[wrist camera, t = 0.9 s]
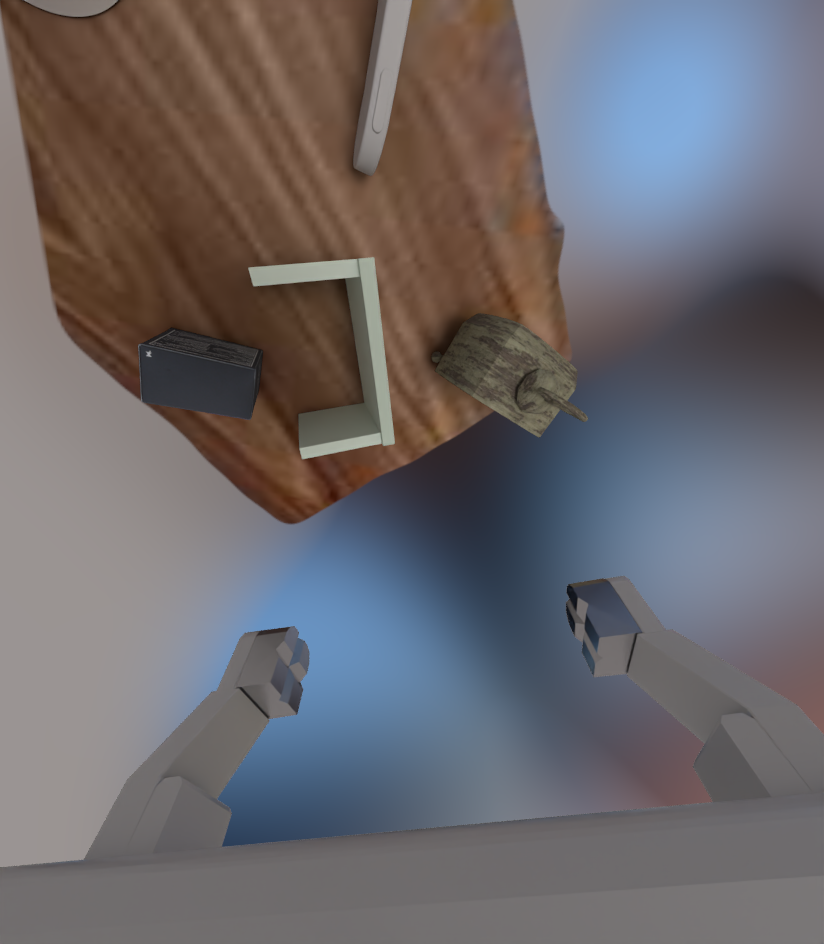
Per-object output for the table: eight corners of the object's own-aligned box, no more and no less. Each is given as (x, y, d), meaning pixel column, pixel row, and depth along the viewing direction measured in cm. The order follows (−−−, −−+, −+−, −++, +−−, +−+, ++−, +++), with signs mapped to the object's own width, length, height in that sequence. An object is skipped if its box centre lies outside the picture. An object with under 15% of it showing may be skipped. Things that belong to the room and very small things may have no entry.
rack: (259, 269, 40) (247, 267, 30) (354, 261, 43) (374, 257, 32) (300, 423, 51) (302, 462, 40) (375, 410, 53) (394, 443, 42)
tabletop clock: (418, 360, 51) (502, 417, 31) (450, 303, 48) (566, 324, 28) (485, 401, 58) (589, 470, 38) (516, 354, 55) (647, 400, 35)
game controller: (368, 185, 39) (384, 166, 32) (349, 176, 38) (361, 155, 32) (414, -70, 31) (448, -167, 24) (391, -88, 30) (419, -194, 24)
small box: (169, 378, 43) (137, 405, 34) (168, 326, 40) (134, 339, 32) (259, 396, 47) (250, 423, 38) (264, 349, 44) (256, 367, 36)
